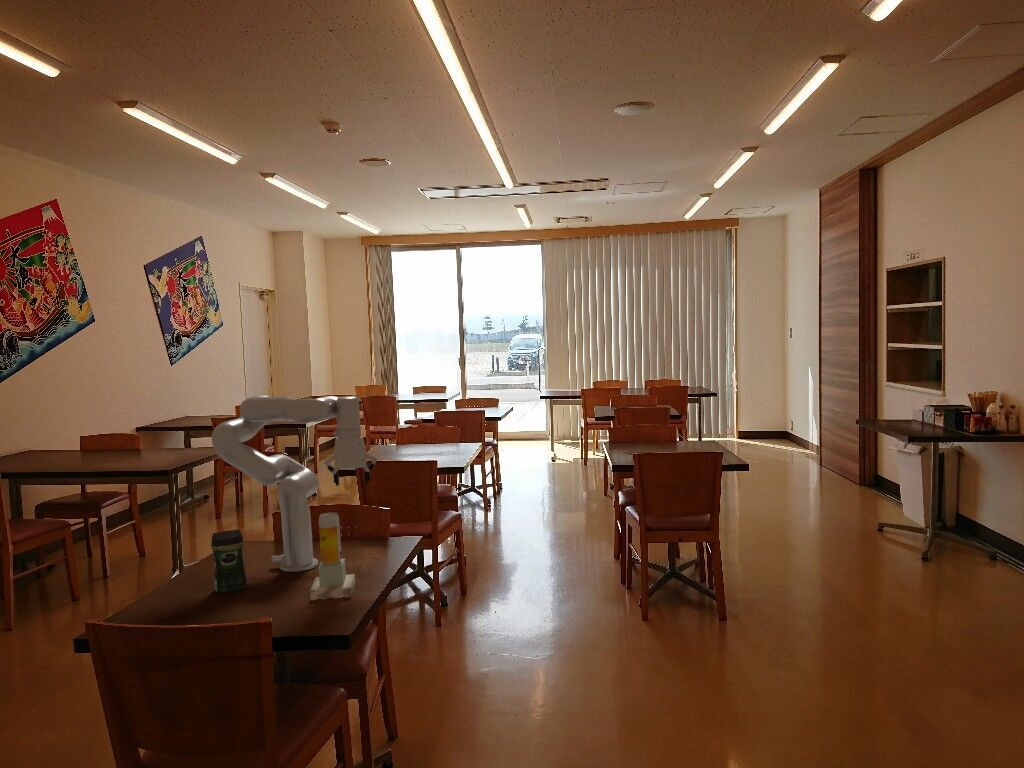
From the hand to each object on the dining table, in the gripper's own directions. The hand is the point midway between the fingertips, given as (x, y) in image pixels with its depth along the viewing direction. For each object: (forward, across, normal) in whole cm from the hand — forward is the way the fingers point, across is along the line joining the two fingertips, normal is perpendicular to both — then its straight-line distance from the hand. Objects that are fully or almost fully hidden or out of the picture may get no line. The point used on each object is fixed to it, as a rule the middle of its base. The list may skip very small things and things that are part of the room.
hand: (352, 484), depth 247 cm
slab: (+28, -5, -23) cm, 37 cm away
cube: (+25, -5, -23) cm, 34 cm away
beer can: (+20, -5, -23) cm, 30 cm away
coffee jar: (+28, -38, -13) cm, 49 cm away
